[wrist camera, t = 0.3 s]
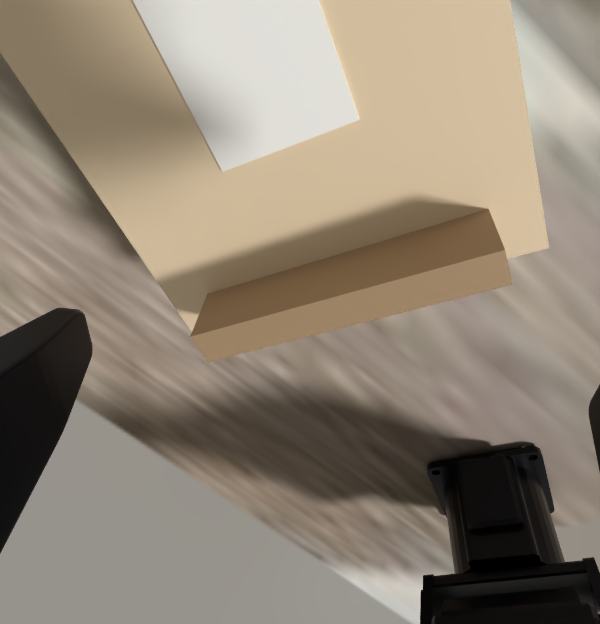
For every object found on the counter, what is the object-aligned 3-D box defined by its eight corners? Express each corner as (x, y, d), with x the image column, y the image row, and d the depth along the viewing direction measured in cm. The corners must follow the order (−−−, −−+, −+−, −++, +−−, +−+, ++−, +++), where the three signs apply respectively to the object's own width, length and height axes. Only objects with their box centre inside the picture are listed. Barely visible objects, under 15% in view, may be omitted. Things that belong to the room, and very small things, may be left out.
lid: (543, 238, 17) (572, 292, 15) (202, 332, 21) (182, 386, 19) (441, -394, 10) (467, -489, 7) (-61, -60, 14) (-149, -51, 11)
